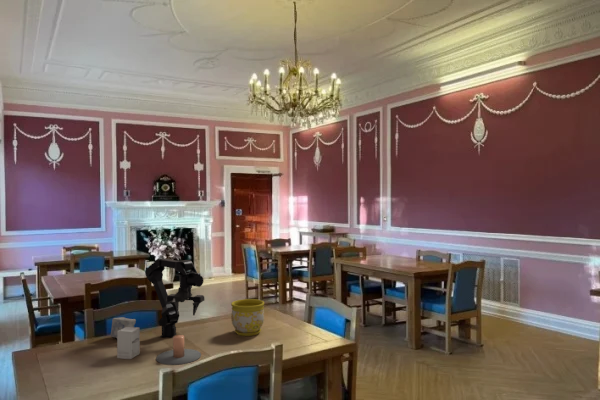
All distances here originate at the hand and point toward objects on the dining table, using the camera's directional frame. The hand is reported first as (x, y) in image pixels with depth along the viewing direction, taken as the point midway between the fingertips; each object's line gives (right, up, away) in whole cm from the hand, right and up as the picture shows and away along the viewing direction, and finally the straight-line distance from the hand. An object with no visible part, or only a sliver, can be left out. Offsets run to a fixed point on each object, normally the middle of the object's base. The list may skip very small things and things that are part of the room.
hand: (185, 314), depth 237 cm
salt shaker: (+3, -13, -25) cm, 28 cm away
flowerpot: (+31, -13, +13) cm, 36 cm away
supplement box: (-21, -14, -24) cm, 34 cm away
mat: (+3, -13, -25) cm, 28 cm away
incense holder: (-34, -13, +4) cm, 37 cm away
